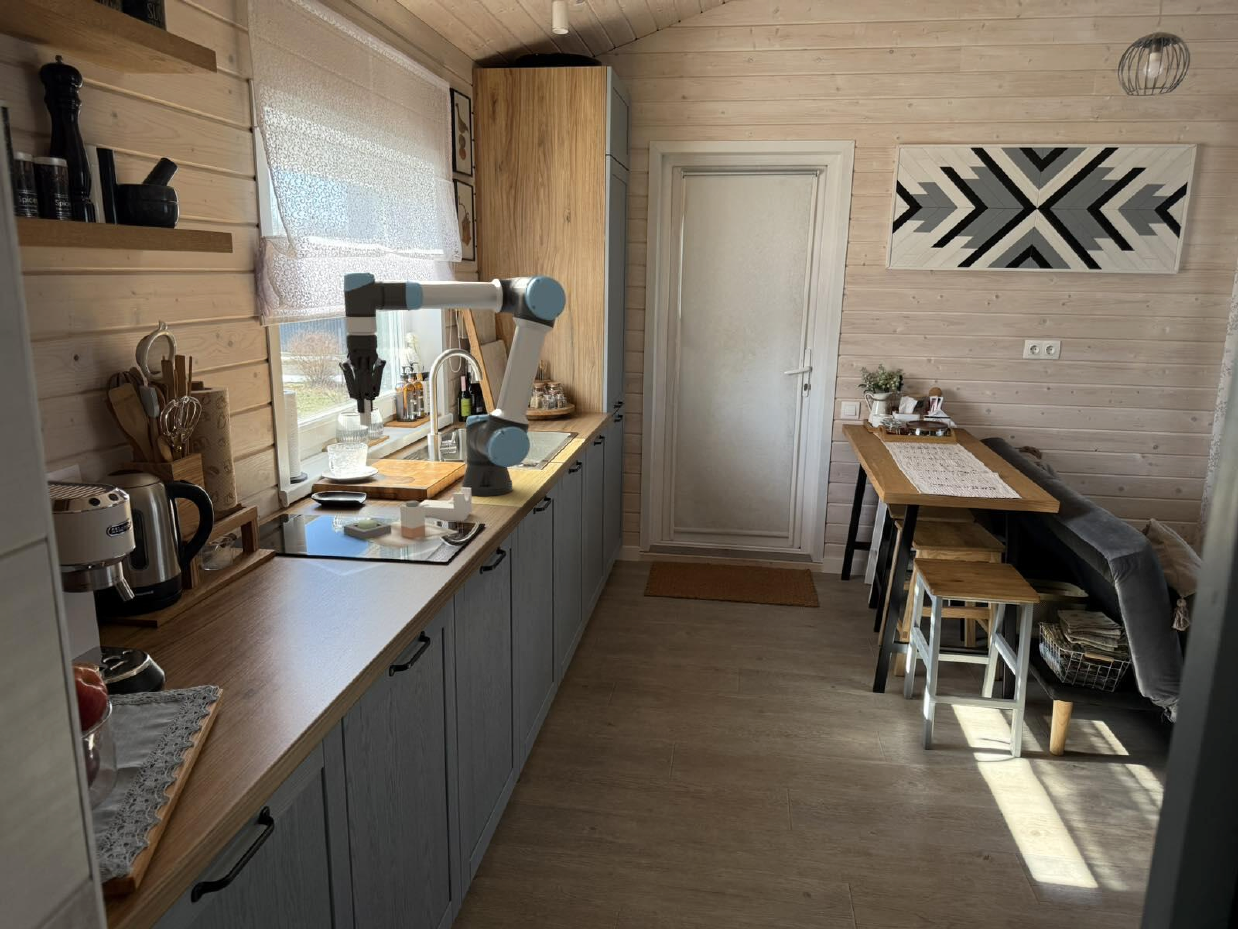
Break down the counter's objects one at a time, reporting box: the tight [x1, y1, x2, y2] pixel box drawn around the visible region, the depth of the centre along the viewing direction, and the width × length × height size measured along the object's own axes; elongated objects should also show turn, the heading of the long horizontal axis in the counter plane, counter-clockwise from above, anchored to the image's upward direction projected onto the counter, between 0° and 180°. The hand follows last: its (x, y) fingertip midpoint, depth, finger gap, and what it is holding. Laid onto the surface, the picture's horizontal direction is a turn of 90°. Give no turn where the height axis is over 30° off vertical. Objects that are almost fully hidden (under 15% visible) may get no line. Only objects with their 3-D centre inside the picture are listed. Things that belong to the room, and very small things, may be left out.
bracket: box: [419, 486, 473, 522], centre depth 230 cm, size 13×7×8 cm, turn 82°
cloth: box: [365, 520, 458, 550], centre depth 212 cm, size 21×21×1 cm
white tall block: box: [399, 500, 426, 539], centre depth 209 cm, size 4×4×8 cm
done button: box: [357, 519, 377, 529], centre depth 211 cm, size 4×4×2 cm
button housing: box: [343, 518, 391, 541], centre depth 211 cm, size 8×8×2 cm
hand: (366, 424), depth 225 cm, fingers closed
